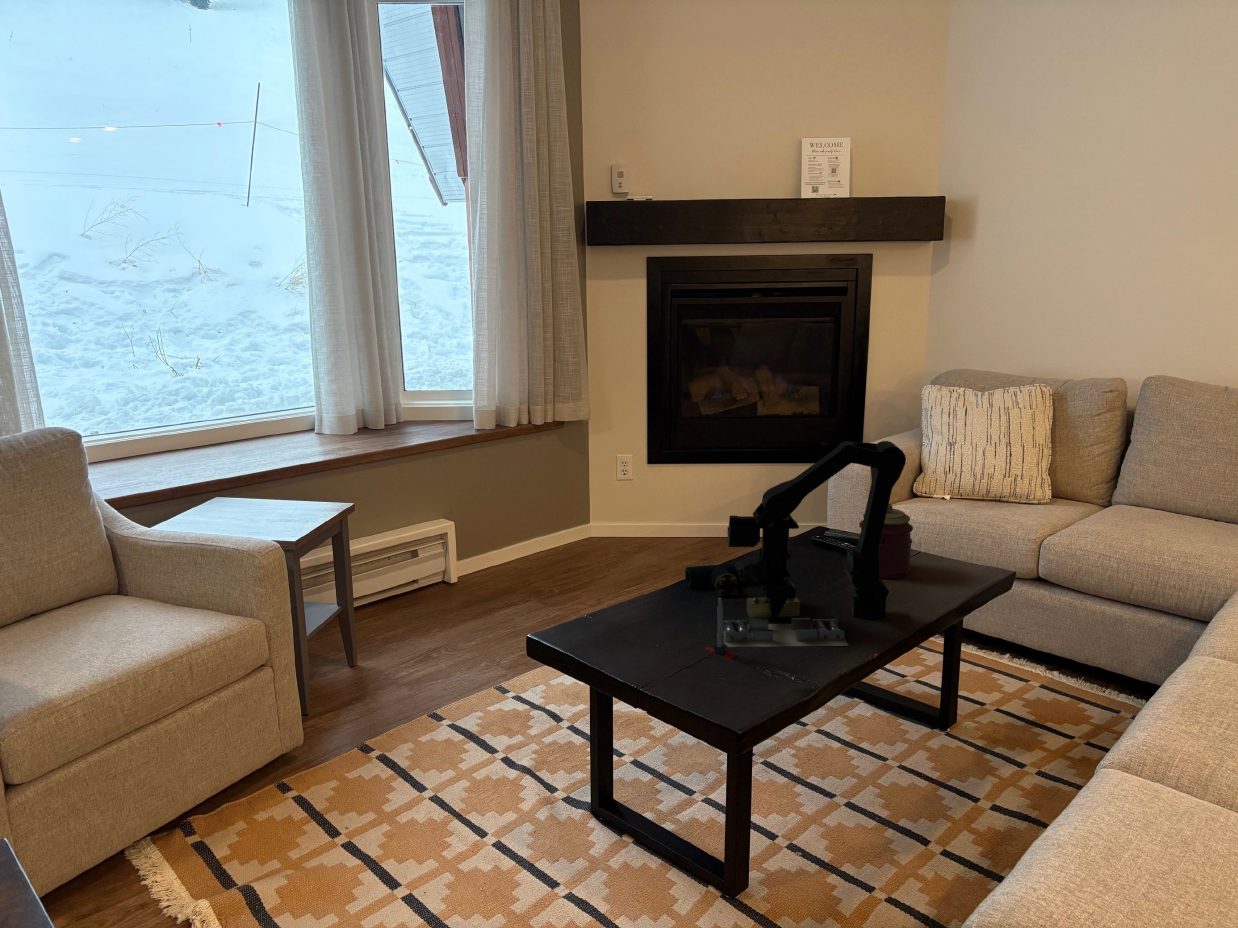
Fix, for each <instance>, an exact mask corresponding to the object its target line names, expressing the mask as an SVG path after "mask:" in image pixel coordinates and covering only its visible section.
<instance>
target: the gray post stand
mask: <svg viewBox="0 0 1238 928" xmlns="http://www.w3.org/2000/svg"><path fill="white" fill-rule="evenodd" d="M717 600H718V601H717V603H718V604H717V610H716V614H717V616H716V617H717V619H716V620H717V621H716V623H717V632H716V644H715V645H713V646H714V647H712V646H711V647H710V646H706V647H705V650H706V651H707V652H709V653H712V654H714V653H715V654H719V655H722V658H725V659H727V660H729V661H731V660H732V659H733V658H734V659H735V658H736V657H737V656H738V655H737V654H736V653H732V652H728V647H727V645H725V643H724V626H723V620H724V607H723V598H722V597H718V598H717Z"/></svg>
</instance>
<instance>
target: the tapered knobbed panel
mask: <svg viewBox="0 0 1238 928" xmlns="http://www.w3.org/2000/svg"><path fill="white" fill-rule="evenodd" d="M800 611H801V601H800V600H799V599H798V597H797V596H796V598H794V599H787V601H786V603H785V604H784V606H783V608H782V610H781V612H780V613H779V615H778V617H777V618H784V617H788V618H789V617H800V614H801V613H800ZM746 613H747V615H748V616H749V618H773V617H772V613H771V607H770V600H769V599H768V598H766V596H765V597H761V596H759V597H748V598H746Z"/></svg>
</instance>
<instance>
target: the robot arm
mask: <svg viewBox="0 0 1238 928" xmlns="http://www.w3.org/2000/svg"><path fill="white" fill-rule="evenodd" d="M906 461H907V458H906V454H905V453H904V451H903V450H902V449H901V448H900V447H898V446H897V445H896V444H895V443H893V442H892V441H889V440H882V441H879V442H878V443H874V442H853V441H848V440H847V441H846V440H845V441H843V442H840V443H839V444H838V445H837V446H836V447H835V448H834V449H833V450H831V451H830V452H829V453H828V454H826V455H823V456H822V458H820V459H819V460H818V461H816V462H815V463H813V464H812V465H810V466H809V467H808V468H806V469H805V470H804V471H803V472H801V473H800V474H798V475H797V476H796V477H794V478H792V479H790V480H786V481H784V482H781V483H779V484H777V485H775V486H772V487H770V488H769V489H767V490H766V491H765V492H764V493H763V495H762V498H761V502H760V503H759V504H758V506H757V507H756V508H755V510H754V511H753V512H752V516H748V515H747V516H745V515H743V516H738V515H729V516H728V517H729V521H728V527H727V546H728V548H755V547H756V546H758V543H761V547H760V548H759V549H758V554H757V555H754V556H749V557H747V558H744V559H741V560H738V561H736V562H735V566H736V569H737V572H738V575H739V577H740V580H741V582H745V581H748V580H749V579H750V580H751V579H754V578H757V580H758V582H759V583H760V584H761V585H762V586H763V588H762V592H763V593H764V595H765V597H766V598H768V599H769V600H770V607H771V613H772V617H771V618H772V619H773V618H775V619H777V618H779V617H778V615H779V613H780V612H781V610H782V608H783V606H784V604H785V603H786V601H787V599H794V598H796V597H797V588H796V586H795V584H794V583H793V582H792V581H791V580H790V579H786V578H790V574H791V572H790V571H789V560H791V553H790V552H789V549H790V548H789V546H790V545H789V544H790V543H789V542H790V530H791V529H792V530H798V529H799V527H800V526H799V524H798V522H797V521H796V520H795V519H794V517H793V516H792V515H791V514H792V513H793V512H794V511H795V510H796V509H797V508H798V507H799V505H800V504H801V503H802V501H803V500H804V499H805V498H806V496H808V495H809V494H810V493H811V492H814V491H815V489H817V488H819V487H820V486H822V484H825V482H827V481H829V480H830V479H831V478H833V477H834V476H835V475H837V474H838V473H839V472H841V471H842V470H843V469H845V468H846V467H848V466H849V465H851V464H855V465H861V466H865V467H869V468H870V476H871V477H870V478H871V484H870V488H869V492H868V498H867V501H866V502H867V503H866V507H865V511H864V513H865V515H864V517H863V524H862V529H861V528H860V533H859V534H860V538H858V543H857V544H856V545H855V547H854V548H853V549H851V548H847V551H846V559H845V562H844V563H843V566H844V567H845V572H846V575H847V576H848V578H849V580H850V582H851V583H852V585H853V586H854V588H855V589H854V592H853V596H851V601H850V614H851V616H852V617H853V618H857V619H863V620H869V621H875V620H880V619H883V618H886V608H887V597H888V595H889V593H890V591H889V589H888V588H887V586H886V584H885V583H884V581H883V580H882V578H880V577H879V567H880V566H879V555H878V549H879V544H880V540H881V536H882V531H883V527H884V522H885V518H886V513H887V509H888V504H890V499H891V494H892V491H893V488H894V487H895V485H896V483H897V482H898V481H899V479H900V477H901V476H902V473H903V470H904V468H905V465H906V463H907V462H906ZM761 530H762V532H761ZM761 536H762V537H761ZM761 538H762V539H761Z"/></svg>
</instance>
